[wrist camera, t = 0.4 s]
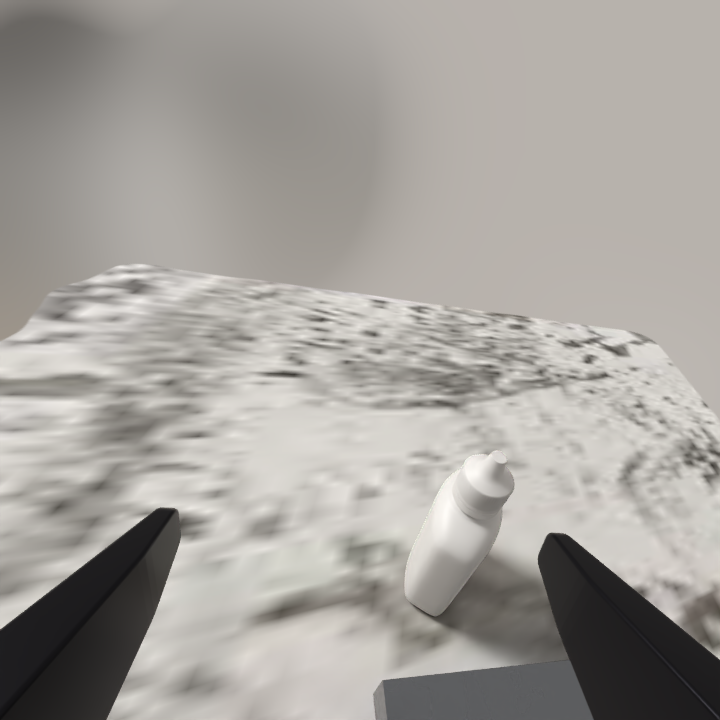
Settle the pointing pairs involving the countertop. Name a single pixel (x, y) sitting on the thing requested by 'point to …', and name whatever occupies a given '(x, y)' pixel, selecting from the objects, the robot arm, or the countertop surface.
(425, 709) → the hollow square frame
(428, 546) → the eye dropper bottle
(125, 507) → the countertop surface
